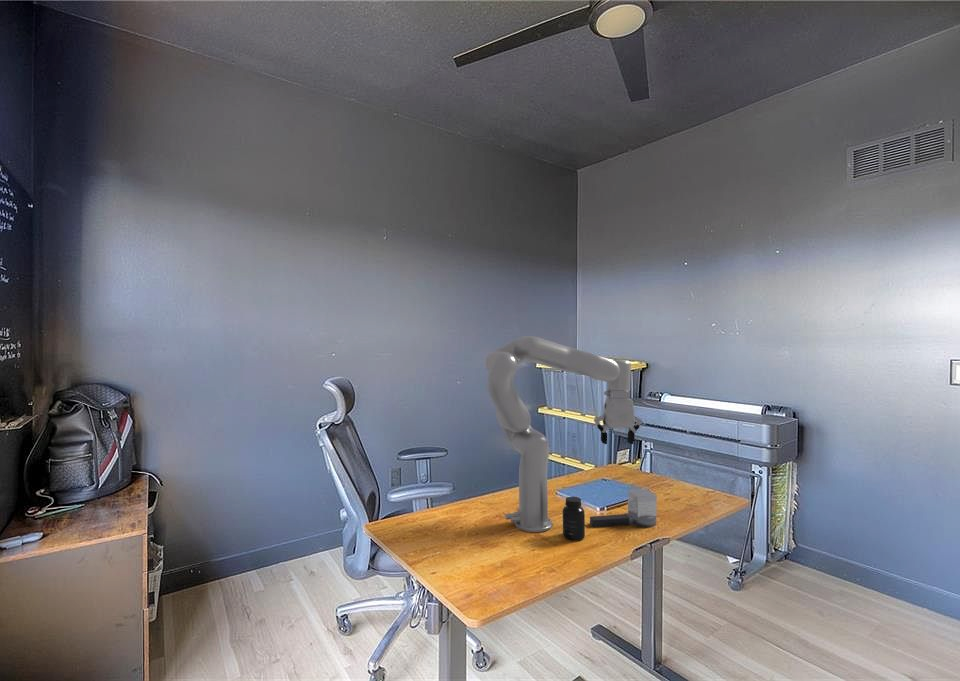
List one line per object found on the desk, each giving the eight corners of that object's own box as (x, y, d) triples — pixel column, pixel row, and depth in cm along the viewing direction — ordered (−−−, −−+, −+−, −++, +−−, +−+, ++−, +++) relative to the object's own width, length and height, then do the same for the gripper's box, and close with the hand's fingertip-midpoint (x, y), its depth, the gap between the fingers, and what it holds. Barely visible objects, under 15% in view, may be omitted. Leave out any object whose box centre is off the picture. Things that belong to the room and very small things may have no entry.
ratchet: (597, 531, 148) (597, 508, 148) (586, 520, 157) (586, 498, 157) (661, 526, 152) (661, 503, 152) (647, 515, 161) (647, 494, 161)
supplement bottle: (567, 530, 149) (567, 493, 149) (587, 535, 145) (587, 497, 145) (559, 538, 143) (559, 500, 143) (580, 543, 140) (580, 504, 139)
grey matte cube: (637, 517, 152) (637, 496, 152) (627, 509, 158) (627, 489, 158) (656, 516, 153) (656, 495, 153) (646, 508, 159) (646, 488, 159)
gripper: (599, 395, 156) (597, 445, 156) (647, 396, 159) (645, 445, 159) (591, 393, 164) (589, 441, 164) (637, 393, 166) (635, 441, 166)
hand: (617, 443), depth 161 cm, fingers open, 9 cm apart
